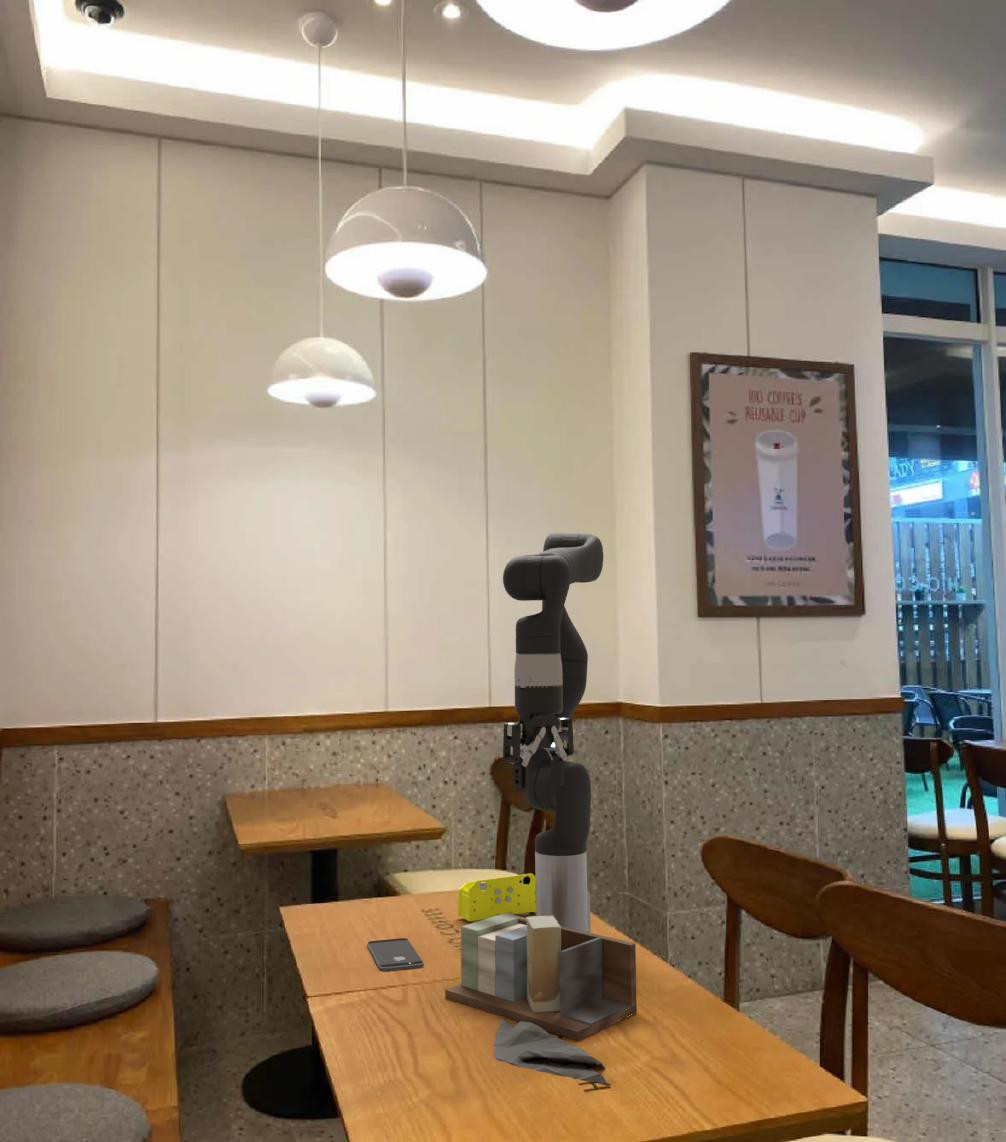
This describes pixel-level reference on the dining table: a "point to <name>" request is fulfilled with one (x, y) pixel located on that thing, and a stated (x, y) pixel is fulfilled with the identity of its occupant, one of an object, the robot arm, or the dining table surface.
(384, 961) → the phone
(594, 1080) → the cloth
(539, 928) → the skincare box
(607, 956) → the book shelf
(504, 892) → the yellow toy chassis
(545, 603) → the robot arm
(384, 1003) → the dining table surface
